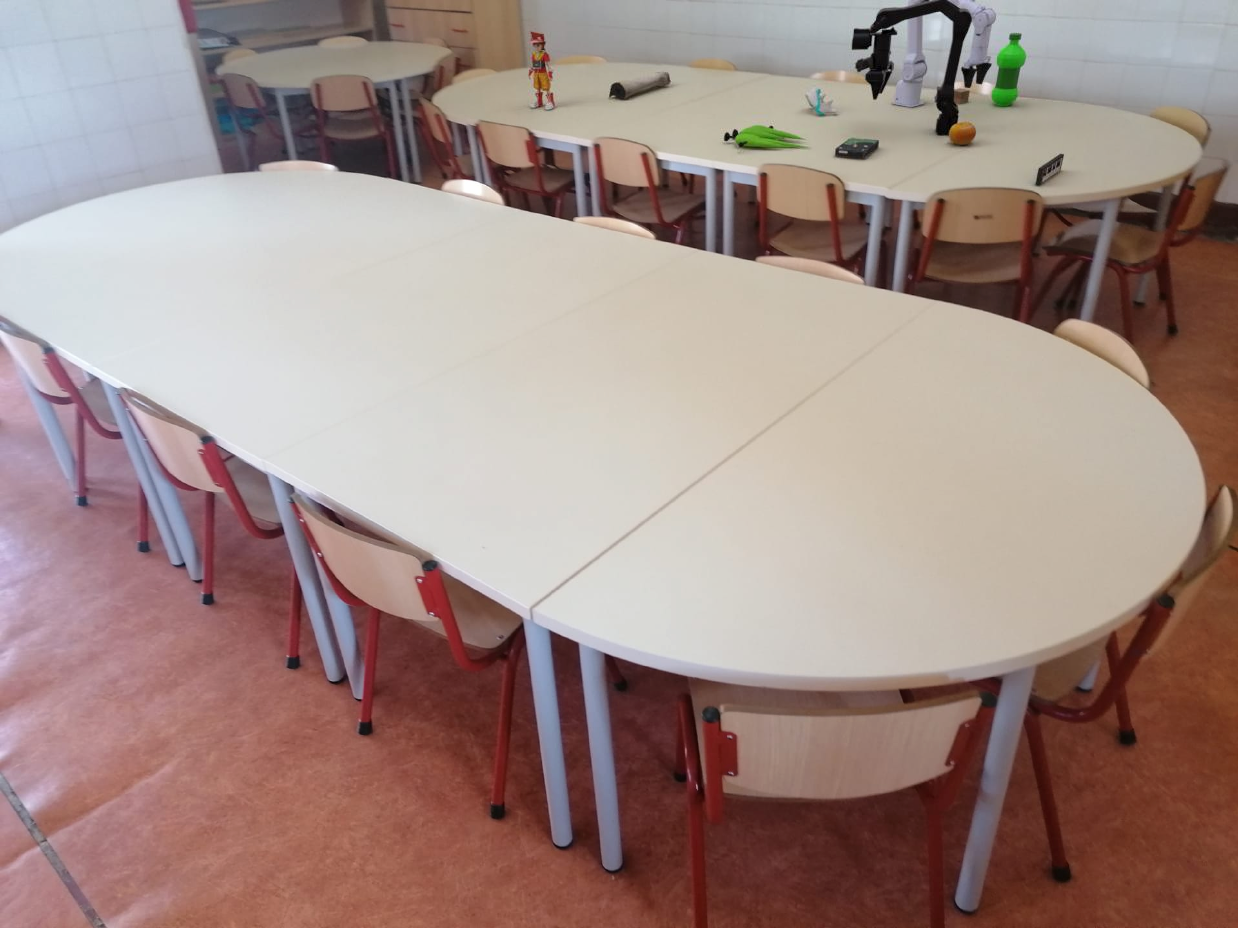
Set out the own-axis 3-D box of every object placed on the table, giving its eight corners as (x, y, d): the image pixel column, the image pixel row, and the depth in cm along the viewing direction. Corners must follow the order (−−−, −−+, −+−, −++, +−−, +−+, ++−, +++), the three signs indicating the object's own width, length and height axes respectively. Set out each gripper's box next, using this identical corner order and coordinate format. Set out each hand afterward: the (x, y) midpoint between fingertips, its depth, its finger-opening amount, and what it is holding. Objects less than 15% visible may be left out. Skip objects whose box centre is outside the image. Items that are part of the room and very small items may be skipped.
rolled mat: (651, 76, 408) (662, 61, 399) (662, 93, 408) (674, 79, 400) (605, 92, 391) (616, 77, 383) (617, 110, 391) (628, 95, 383)
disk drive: (864, 160, 299) (878, 148, 309) (864, 151, 297) (879, 139, 307) (834, 157, 304) (849, 145, 314) (835, 148, 302) (850, 136, 312)
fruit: (944, 129, 311) (958, 112, 304) (966, 137, 313) (980, 120, 306) (944, 146, 307) (958, 129, 300) (966, 154, 309) (980, 138, 302)
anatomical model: (800, 85, 355) (825, 78, 354) (804, 112, 360) (828, 105, 360) (810, 94, 342) (836, 87, 341) (813, 121, 348) (839, 114, 347)
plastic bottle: (1022, 104, 346) (1036, 33, 332) (1005, 109, 342) (1018, 37, 328) (1000, 100, 353) (1012, 30, 339) (983, 104, 349) (995, 34, 335)
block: (958, 100, 358) (960, 88, 355) (968, 102, 354) (970, 90, 352) (949, 102, 356) (951, 90, 353) (959, 104, 352) (961, 92, 350)
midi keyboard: (1039, 185, 269) (1043, 168, 266) (1035, 184, 270) (1038, 168, 267) (1060, 170, 279) (1064, 154, 277) (1056, 169, 280) (1060, 153, 277)
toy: (525, 109, 381) (517, 32, 364) (534, 104, 388) (527, 28, 371) (550, 110, 377) (543, 32, 360) (559, 105, 384) (553, 28, 367)
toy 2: (713, 146, 317) (792, 161, 304) (715, 131, 314) (794, 145, 301) (747, 132, 337) (821, 146, 325) (748, 118, 334) (824, 131, 322)
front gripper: (864, 44, 321) (861, 90, 330) (852, 54, 307) (848, 102, 316) (896, 44, 316) (891, 90, 325) (885, 55, 303) (880, 103, 312)
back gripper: (978, 51, 321) (971, 91, 329) (1000, 44, 328) (993, 83, 336) (961, 48, 325) (954, 88, 333) (983, 42, 333) (976, 81, 340)
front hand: (877, 96), depth 320 cm, fingers open, 9 cm apart
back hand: (973, 86), depth 335 cm, fingers open, 7 cm apart
